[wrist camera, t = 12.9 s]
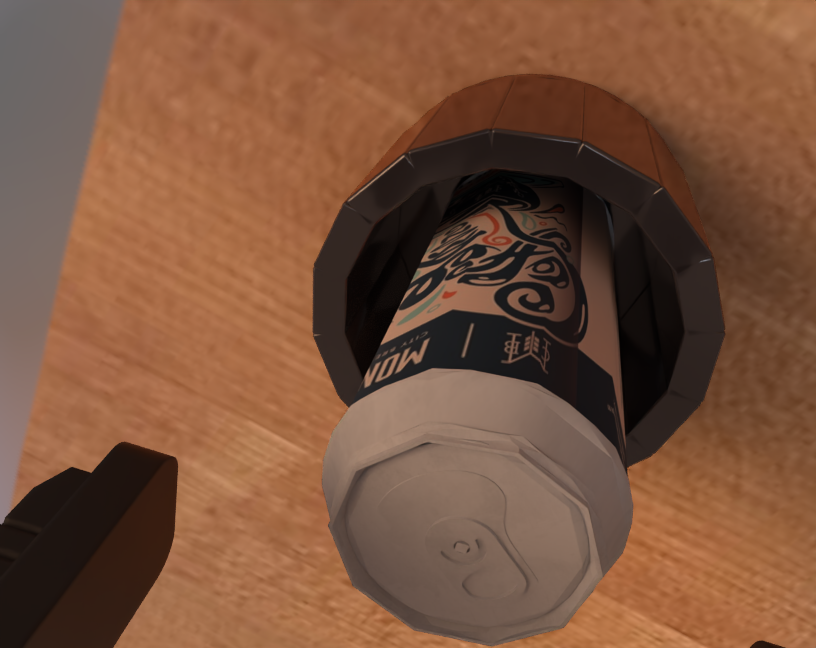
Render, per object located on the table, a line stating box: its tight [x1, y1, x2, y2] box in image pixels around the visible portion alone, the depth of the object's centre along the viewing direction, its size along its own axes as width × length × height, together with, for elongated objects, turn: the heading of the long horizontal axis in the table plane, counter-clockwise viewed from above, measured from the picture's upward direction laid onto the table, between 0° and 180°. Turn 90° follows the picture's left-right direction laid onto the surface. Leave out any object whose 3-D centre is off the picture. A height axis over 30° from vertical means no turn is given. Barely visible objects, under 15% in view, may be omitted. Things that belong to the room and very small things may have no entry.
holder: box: [313, 74, 725, 467], centre depth 19 cm, size 9×9×6 cm
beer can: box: [322, 169, 633, 646], centre depth 16 cm, size 5×5×12 cm
